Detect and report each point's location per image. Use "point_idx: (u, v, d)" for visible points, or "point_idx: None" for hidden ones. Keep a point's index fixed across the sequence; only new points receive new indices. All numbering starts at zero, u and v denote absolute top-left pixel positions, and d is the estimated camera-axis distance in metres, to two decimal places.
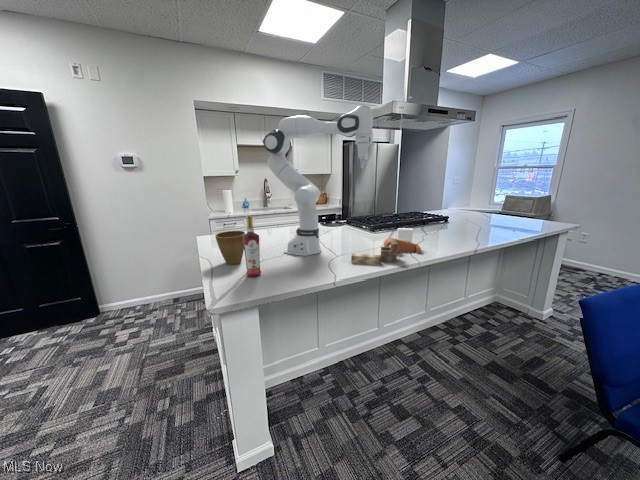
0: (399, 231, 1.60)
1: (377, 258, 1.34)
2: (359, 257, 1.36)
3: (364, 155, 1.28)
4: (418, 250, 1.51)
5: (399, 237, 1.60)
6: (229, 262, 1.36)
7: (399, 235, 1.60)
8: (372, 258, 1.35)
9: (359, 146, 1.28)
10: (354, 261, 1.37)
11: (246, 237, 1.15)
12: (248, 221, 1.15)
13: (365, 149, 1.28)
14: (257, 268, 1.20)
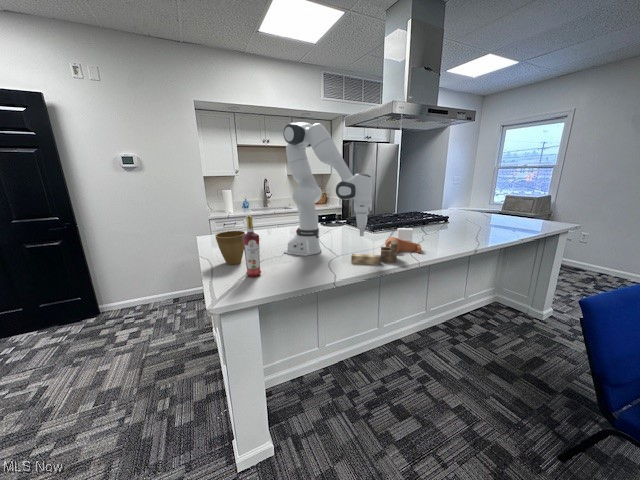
0: (399, 231, 1.60)
1: (377, 258, 1.34)
2: (359, 257, 1.36)
3: (363, 226, 1.23)
4: (419, 250, 1.51)
5: (399, 237, 1.61)
6: (229, 262, 1.36)
7: (399, 235, 1.60)
8: (372, 258, 1.35)
9: (358, 217, 1.23)
10: (354, 261, 1.37)
11: (246, 237, 1.15)
12: (248, 221, 1.15)
13: (364, 220, 1.22)
14: (257, 268, 1.20)
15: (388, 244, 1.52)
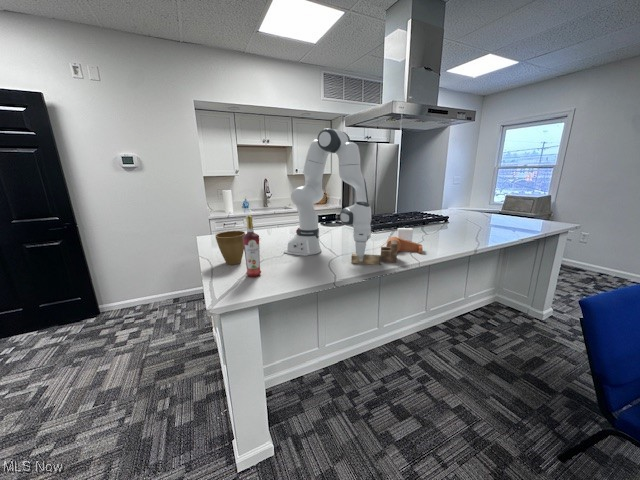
0: (399, 231, 1.60)
1: (377, 258, 1.34)
2: None
3: (362, 254, 1.27)
4: (420, 250, 1.50)
5: (399, 237, 1.61)
6: (229, 262, 1.36)
7: (399, 235, 1.60)
8: (372, 258, 1.35)
9: (357, 245, 1.27)
10: (354, 261, 1.37)
11: (246, 237, 1.15)
12: (248, 221, 1.15)
13: (363, 248, 1.26)
14: (257, 268, 1.20)
15: (389, 244, 1.53)
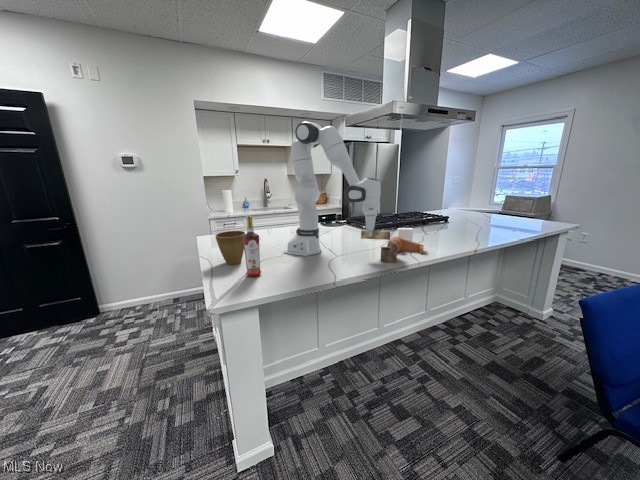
0: (399, 231, 1.60)
1: (386, 233, 1.37)
2: None
3: (372, 228, 1.29)
4: (421, 250, 1.50)
5: (399, 237, 1.61)
6: (229, 262, 1.36)
7: (399, 235, 1.61)
8: (381, 233, 1.37)
9: (367, 219, 1.29)
10: (364, 237, 1.40)
11: (246, 237, 1.15)
12: (248, 221, 1.15)
13: (373, 222, 1.29)
14: (257, 268, 1.20)
15: (389, 243, 1.54)
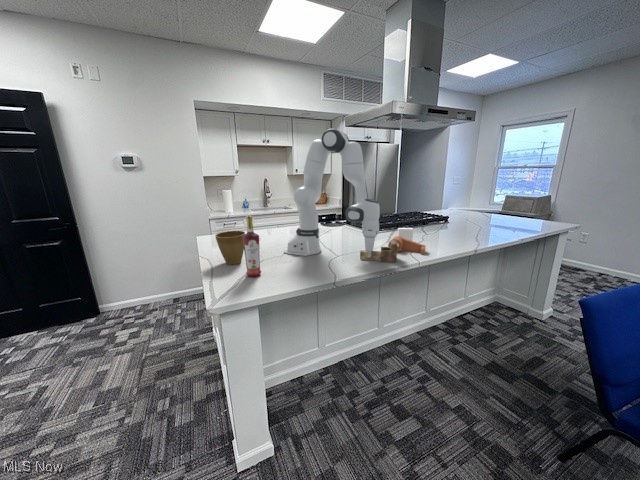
0: (400, 231, 1.60)
1: None
2: None
3: (371, 249, 1.32)
4: (421, 251, 1.49)
5: None
6: (229, 262, 1.36)
7: (400, 235, 1.61)
8: (380, 254, 1.40)
9: (366, 240, 1.32)
10: (363, 257, 1.43)
11: (246, 237, 1.15)
12: (248, 221, 1.15)
13: (372, 244, 1.32)
14: (257, 268, 1.20)
15: (390, 243, 1.55)
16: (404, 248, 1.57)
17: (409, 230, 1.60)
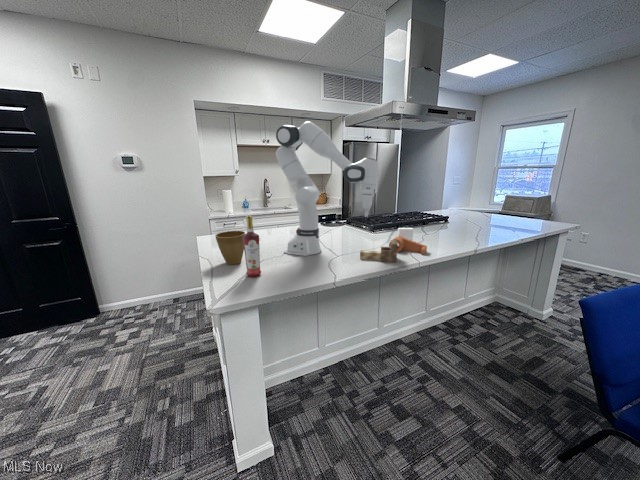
0: (400, 231, 1.60)
1: None
2: (367, 253, 1.42)
3: (368, 206, 1.32)
4: (422, 251, 1.48)
5: None
6: (229, 262, 1.36)
7: (400, 235, 1.61)
8: (380, 254, 1.40)
9: (364, 198, 1.32)
10: (363, 257, 1.43)
11: (246, 237, 1.15)
12: (248, 221, 1.15)
13: (369, 201, 1.32)
14: (257, 268, 1.20)
15: None
16: (405, 248, 1.57)
17: (409, 230, 1.60)
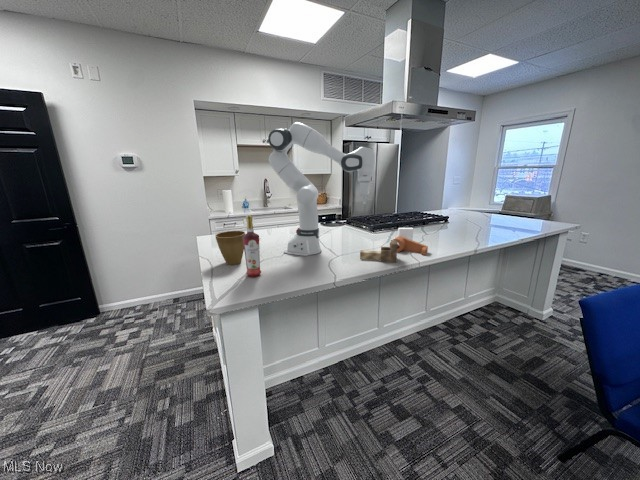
0: (400, 231, 1.60)
1: None
2: (367, 253, 1.42)
3: (366, 193, 1.36)
4: (422, 251, 1.48)
5: None
6: (229, 262, 1.36)
7: (400, 235, 1.61)
8: (380, 254, 1.40)
9: (361, 185, 1.36)
10: (363, 257, 1.43)
11: (246, 237, 1.15)
12: (248, 221, 1.15)
13: (367, 188, 1.36)
14: (257, 268, 1.20)
15: None
16: (406, 248, 1.57)
17: (409, 230, 1.60)
